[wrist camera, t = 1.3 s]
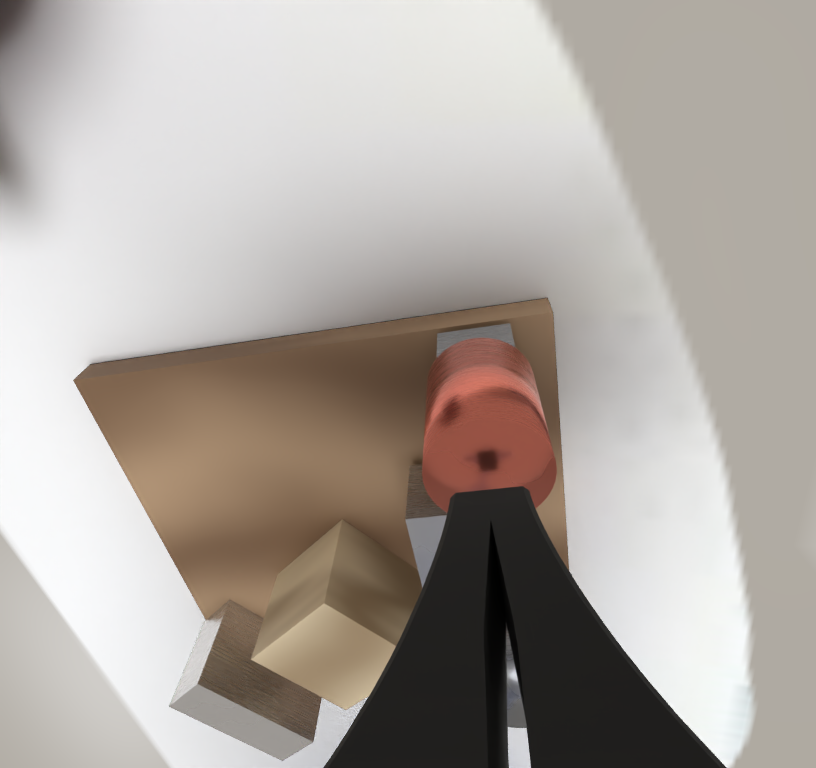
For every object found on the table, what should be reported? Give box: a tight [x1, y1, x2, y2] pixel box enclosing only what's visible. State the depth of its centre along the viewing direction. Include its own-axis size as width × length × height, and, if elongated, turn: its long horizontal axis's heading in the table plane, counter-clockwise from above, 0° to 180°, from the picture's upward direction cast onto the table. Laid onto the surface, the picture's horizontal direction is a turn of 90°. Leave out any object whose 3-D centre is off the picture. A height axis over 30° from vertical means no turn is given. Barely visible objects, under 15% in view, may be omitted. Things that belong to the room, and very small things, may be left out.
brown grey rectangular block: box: [169, 600, 322, 761], centre depth 23 cm, size 5×2×4 cm, turn 48°
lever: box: [405, 323, 557, 728], centre depth 17 cm, size 14×5×5 cm, turn 10°
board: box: [73, 298, 569, 620], centre depth 22 cm, size 17×15×1 cm
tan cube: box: [251, 520, 422, 710], centre depth 20 cm, size 4×4×4 cm
